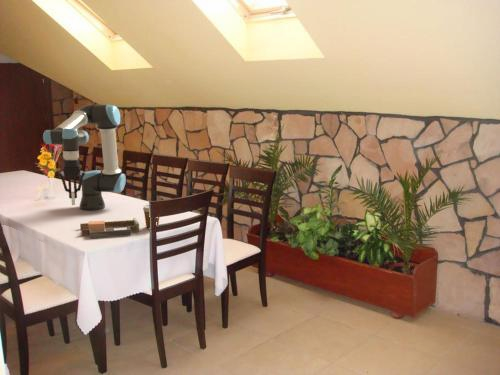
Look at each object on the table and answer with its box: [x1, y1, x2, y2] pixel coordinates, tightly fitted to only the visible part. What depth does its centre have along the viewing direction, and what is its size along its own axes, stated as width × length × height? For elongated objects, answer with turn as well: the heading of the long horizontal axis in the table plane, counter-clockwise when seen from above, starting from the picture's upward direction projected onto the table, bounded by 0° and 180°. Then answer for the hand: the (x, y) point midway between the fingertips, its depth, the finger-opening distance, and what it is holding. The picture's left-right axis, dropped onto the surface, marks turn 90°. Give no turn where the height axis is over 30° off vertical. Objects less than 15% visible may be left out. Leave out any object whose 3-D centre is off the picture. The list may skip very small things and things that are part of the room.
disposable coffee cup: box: [142, 204, 160, 230], centre depth 282 cm, size 10×10×12 cm
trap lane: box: [79, 217, 140, 239], centre depth 274 cm, size 19×29×4 cm, turn 110°
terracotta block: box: [88, 220, 106, 232], centre depth 274 cm, size 6×8×5 cm
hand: (73, 204), depth 268 cm, fingers closed
